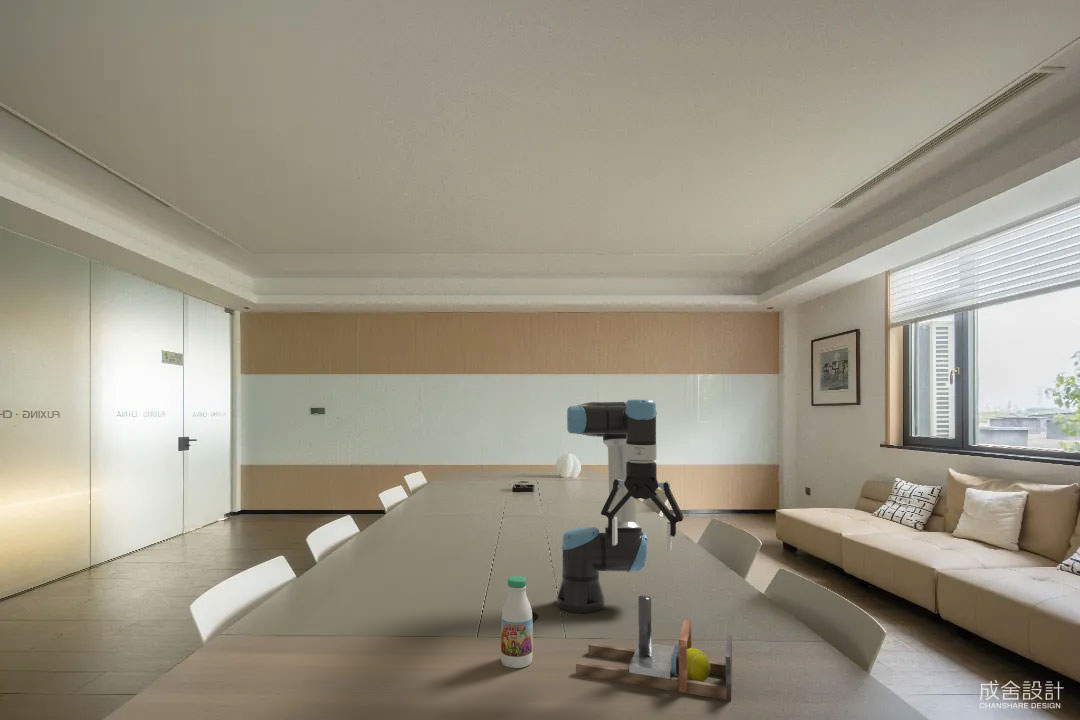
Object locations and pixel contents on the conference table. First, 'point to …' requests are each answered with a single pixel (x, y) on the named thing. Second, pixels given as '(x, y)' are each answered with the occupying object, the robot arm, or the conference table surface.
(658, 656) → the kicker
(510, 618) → the milk bottle
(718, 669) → the lane
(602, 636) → the conference table surface
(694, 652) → the tennis ball
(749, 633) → the conference table surface
